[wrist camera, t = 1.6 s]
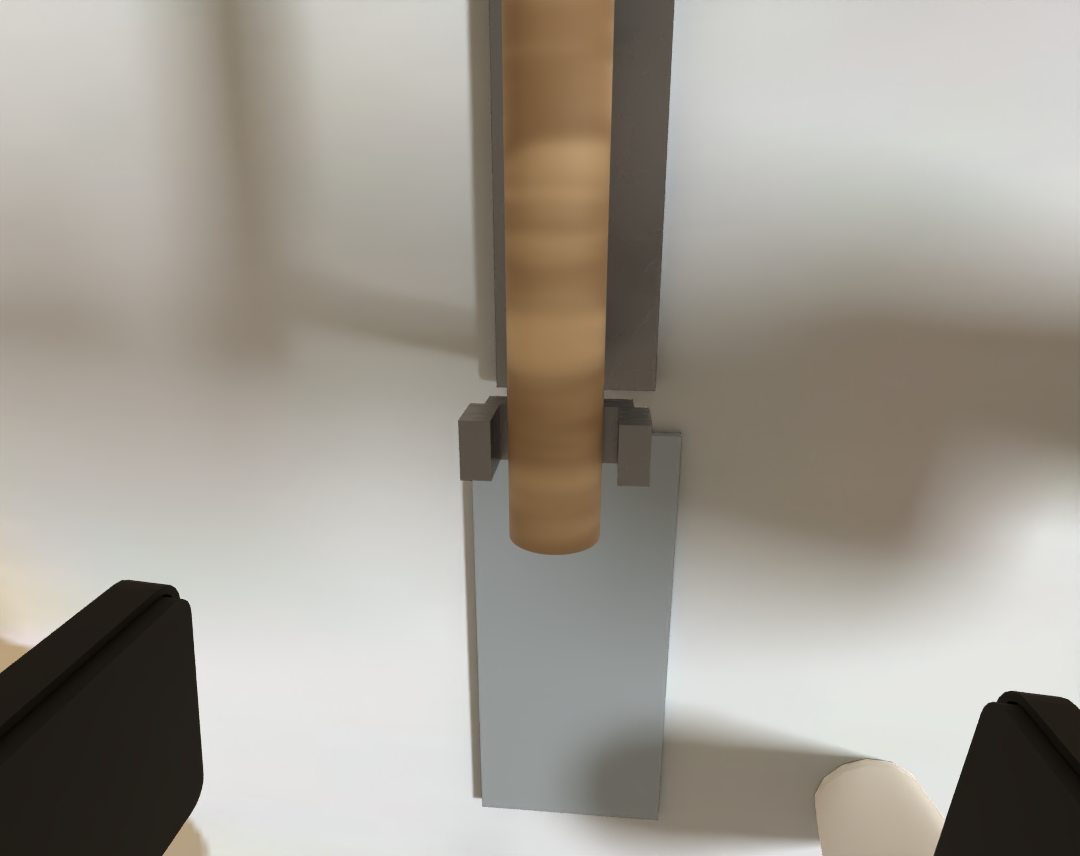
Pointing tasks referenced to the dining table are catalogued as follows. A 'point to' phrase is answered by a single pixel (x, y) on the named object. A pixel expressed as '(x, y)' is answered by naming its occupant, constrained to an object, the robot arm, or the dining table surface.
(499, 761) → the slate mat
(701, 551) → the dining table surface
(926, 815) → the foam cup
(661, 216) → the cradle stands
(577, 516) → the oak dowel
